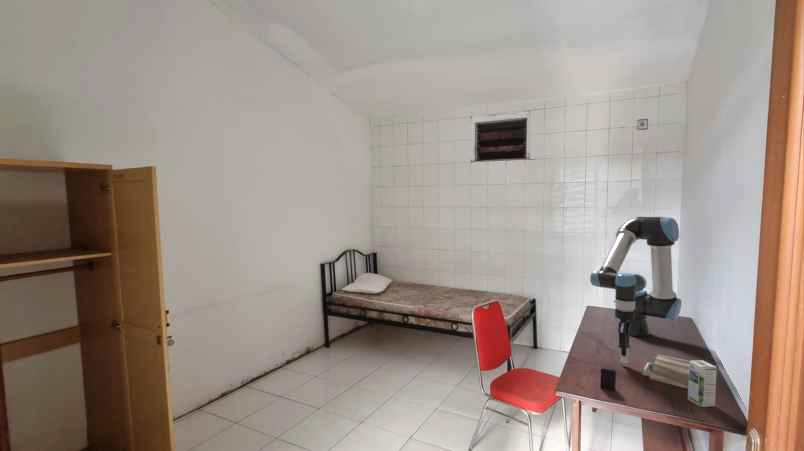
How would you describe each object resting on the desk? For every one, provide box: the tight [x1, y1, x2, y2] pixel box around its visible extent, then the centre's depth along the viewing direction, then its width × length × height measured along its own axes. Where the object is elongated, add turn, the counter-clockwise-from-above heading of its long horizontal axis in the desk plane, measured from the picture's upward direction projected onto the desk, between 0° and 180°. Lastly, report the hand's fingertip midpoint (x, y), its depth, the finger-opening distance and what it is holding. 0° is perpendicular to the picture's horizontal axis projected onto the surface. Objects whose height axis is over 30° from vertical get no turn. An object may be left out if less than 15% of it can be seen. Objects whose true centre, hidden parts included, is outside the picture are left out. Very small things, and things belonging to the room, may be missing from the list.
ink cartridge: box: [599, 366, 617, 392], centre depth 149 cm, size 5×2×8 cm, turn 52°
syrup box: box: [687, 359, 717, 408], centre depth 137 cm, size 6×6×14 cm
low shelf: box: [649, 353, 690, 389], centre depth 158 cm, size 16×14×6 cm
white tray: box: [642, 362, 652, 377], centre depth 160 cm, size 10×14×2 cm
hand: (623, 362), depth 169 cm, fingers closed
